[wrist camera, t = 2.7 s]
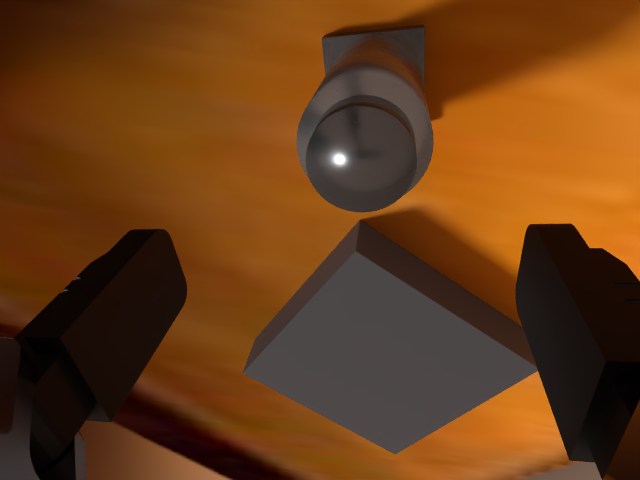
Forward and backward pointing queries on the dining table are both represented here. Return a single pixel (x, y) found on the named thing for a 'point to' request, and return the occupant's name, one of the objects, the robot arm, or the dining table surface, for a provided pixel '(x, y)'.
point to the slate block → (387, 344)
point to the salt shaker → (368, 119)
